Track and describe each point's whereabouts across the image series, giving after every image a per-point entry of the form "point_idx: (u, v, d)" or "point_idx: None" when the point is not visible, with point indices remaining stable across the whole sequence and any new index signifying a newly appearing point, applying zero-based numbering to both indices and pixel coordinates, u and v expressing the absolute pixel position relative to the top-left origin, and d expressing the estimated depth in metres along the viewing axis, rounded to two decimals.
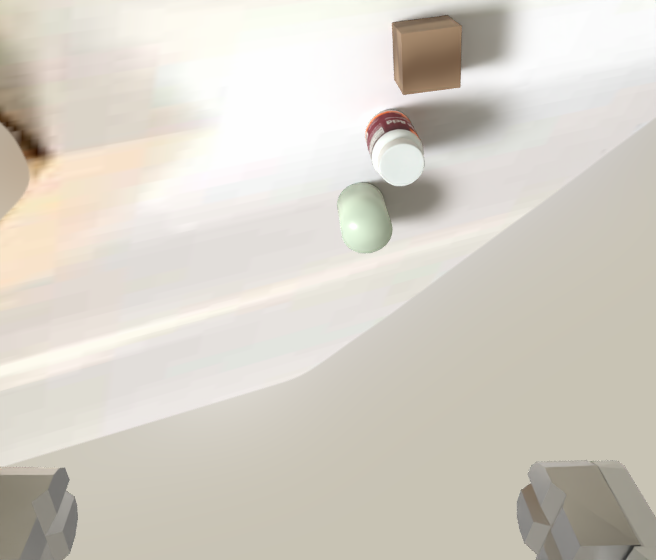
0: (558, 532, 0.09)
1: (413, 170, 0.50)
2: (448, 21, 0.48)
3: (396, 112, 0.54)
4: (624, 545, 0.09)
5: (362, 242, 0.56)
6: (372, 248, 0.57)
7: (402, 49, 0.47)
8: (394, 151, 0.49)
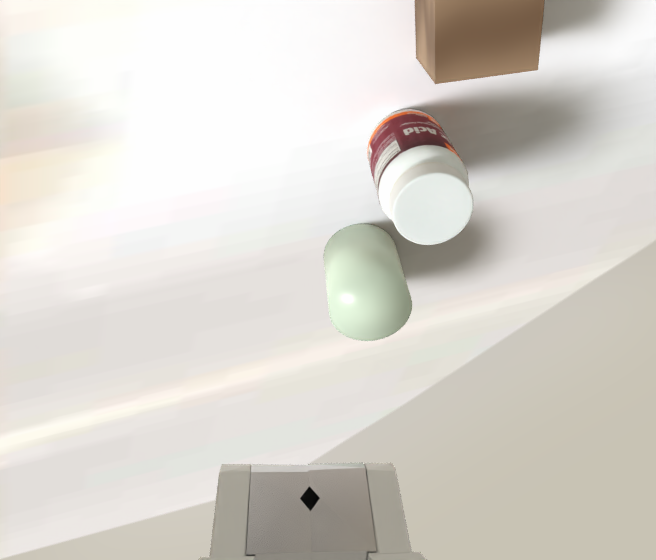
0: None
1: (453, 218, 0.28)
2: None
3: (419, 113, 0.32)
4: (362, 551, 0.08)
5: (363, 325, 0.35)
6: (379, 333, 0.35)
7: None
8: (419, 187, 0.27)
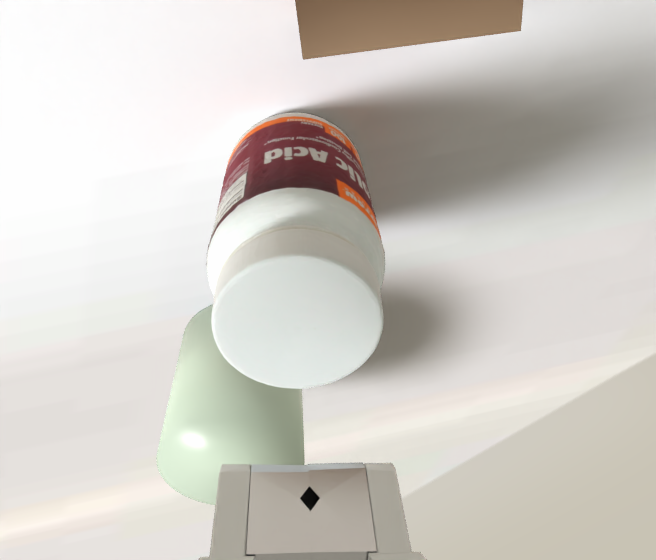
0: None
1: (343, 342, 0.13)
2: None
3: (309, 120, 0.18)
4: (362, 551, 0.08)
5: None
6: None
7: None
8: (260, 285, 0.12)
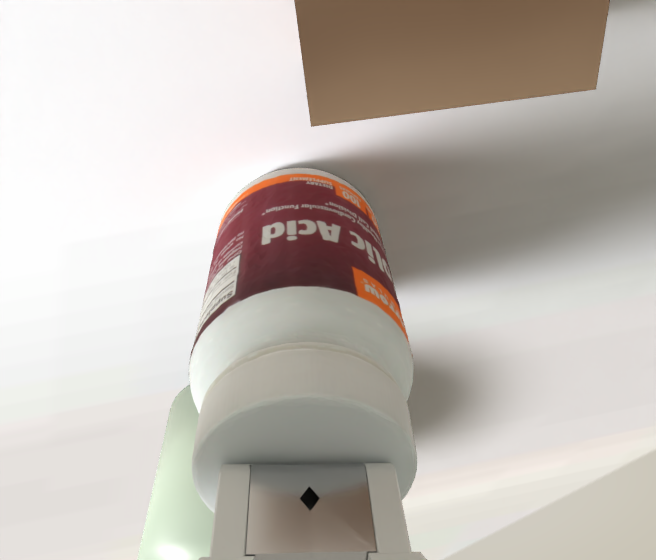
0: None
1: None
2: None
3: (316, 179, 0.15)
4: (362, 551, 0.08)
5: None
6: None
7: None
8: (256, 430, 0.09)
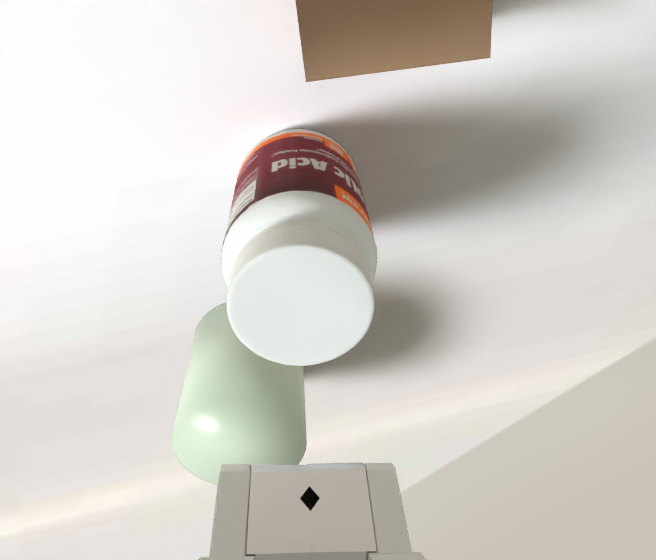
0: None
1: (340, 323, 0.15)
2: None
3: (311, 136, 0.20)
4: (362, 551, 0.08)
5: None
6: None
7: None
8: (269, 271, 0.14)
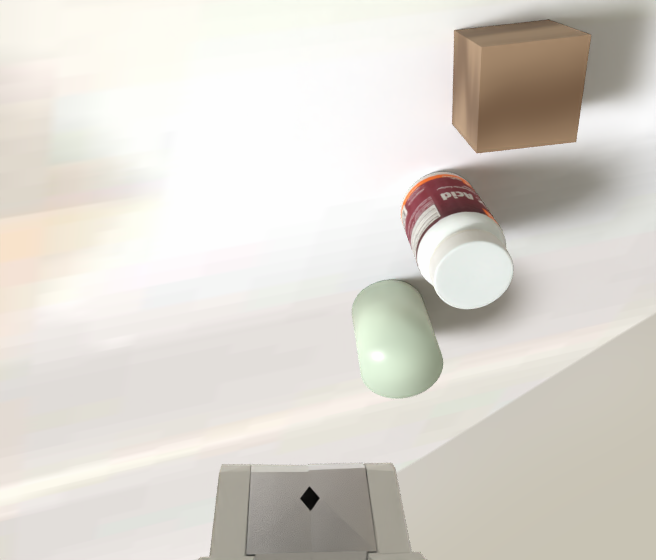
0: None
1: (493, 284, 0.28)
2: (558, 28, 0.28)
3: (453, 176, 0.33)
4: (362, 551, 0.08)
5: (394, 383, 0.35)
6: (409, 391, 0.35)
7: (481, 75, 0.26)
8: (462, 254, 0.27)
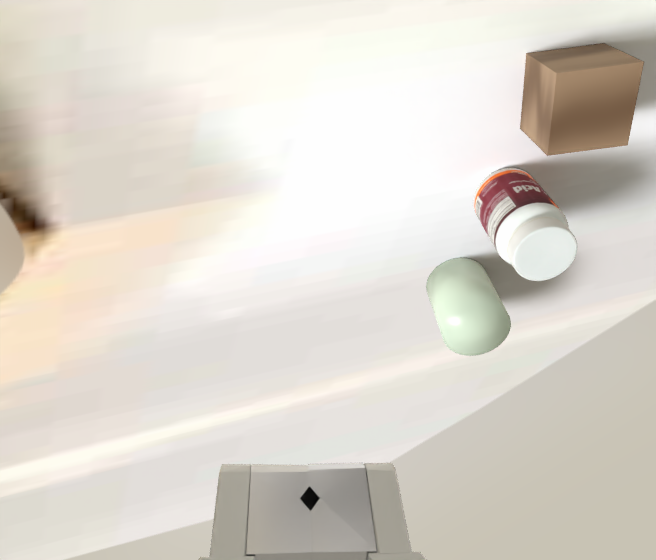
0: None
1: (560, 261, 0.36)
2: (614, 53, 0.34)
3: (520, 172, 0.40)
4: (362, 551, 0.08)
5: (469, 342, 0.42)
6: (481, 349, 0.43)
7: (555, 94, 0.33)
8: (537, 237, 0.34)
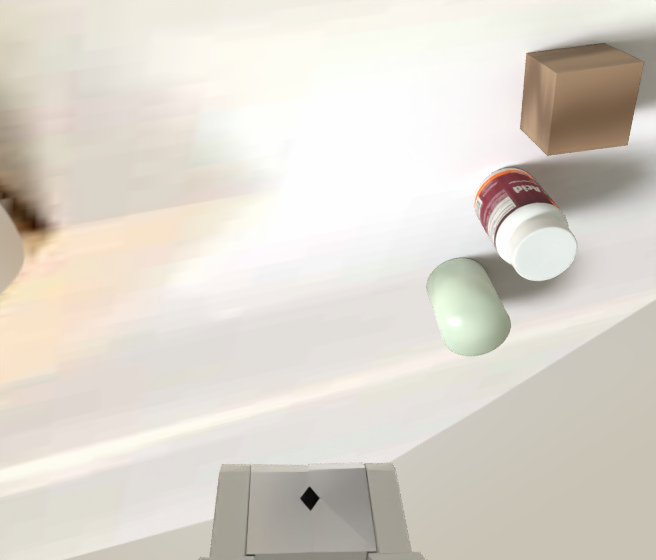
0: None
1: (560, 261, 0.36)
2: (614, 53, 0.34)
3: (520, 172, 0.40)
4: (362, 551, 0.08)
5: (469, 343, 0.42)
6: (481, 350, 0.43)
7: (555, 94, 0.33)
8: (537, 237, 0.34)
